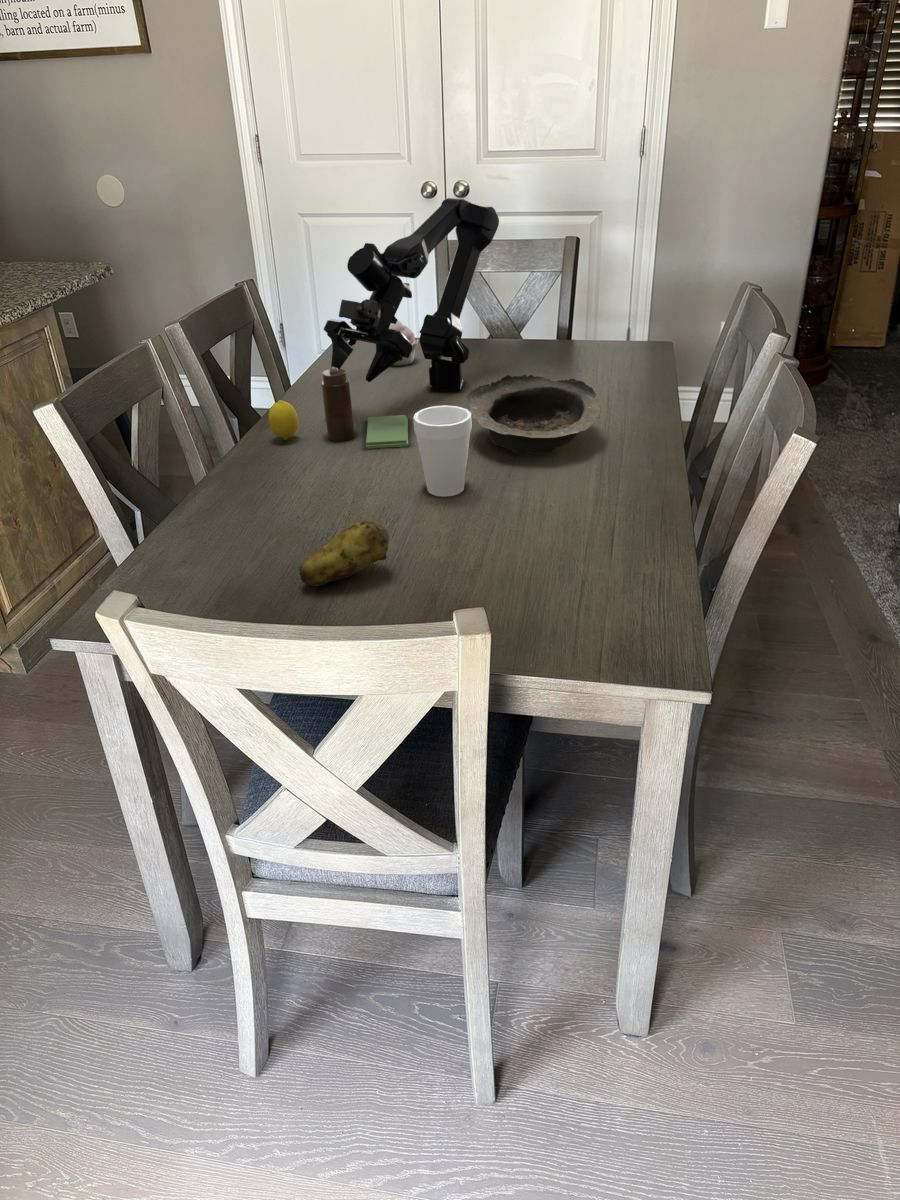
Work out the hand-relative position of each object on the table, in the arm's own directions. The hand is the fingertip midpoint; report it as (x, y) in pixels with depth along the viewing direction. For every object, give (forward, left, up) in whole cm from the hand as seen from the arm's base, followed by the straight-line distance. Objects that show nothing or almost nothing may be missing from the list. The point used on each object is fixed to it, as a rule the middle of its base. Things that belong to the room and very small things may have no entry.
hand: (349, 377), depth 166 cm
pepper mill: (+2, +3, -11) cm, 12 cm away
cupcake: (-1, -44, -11) cm, 45 cm away
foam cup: (-22, +26, -11) cm, 36 cm away
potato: (-12, +56, -11) cm, 58 cm away
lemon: (+13, +6, -11) cm, 18 cm away
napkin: (-7, +2, -11) cm, 13 cm away
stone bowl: (-36, +4, -11) cm, 38 cm away
